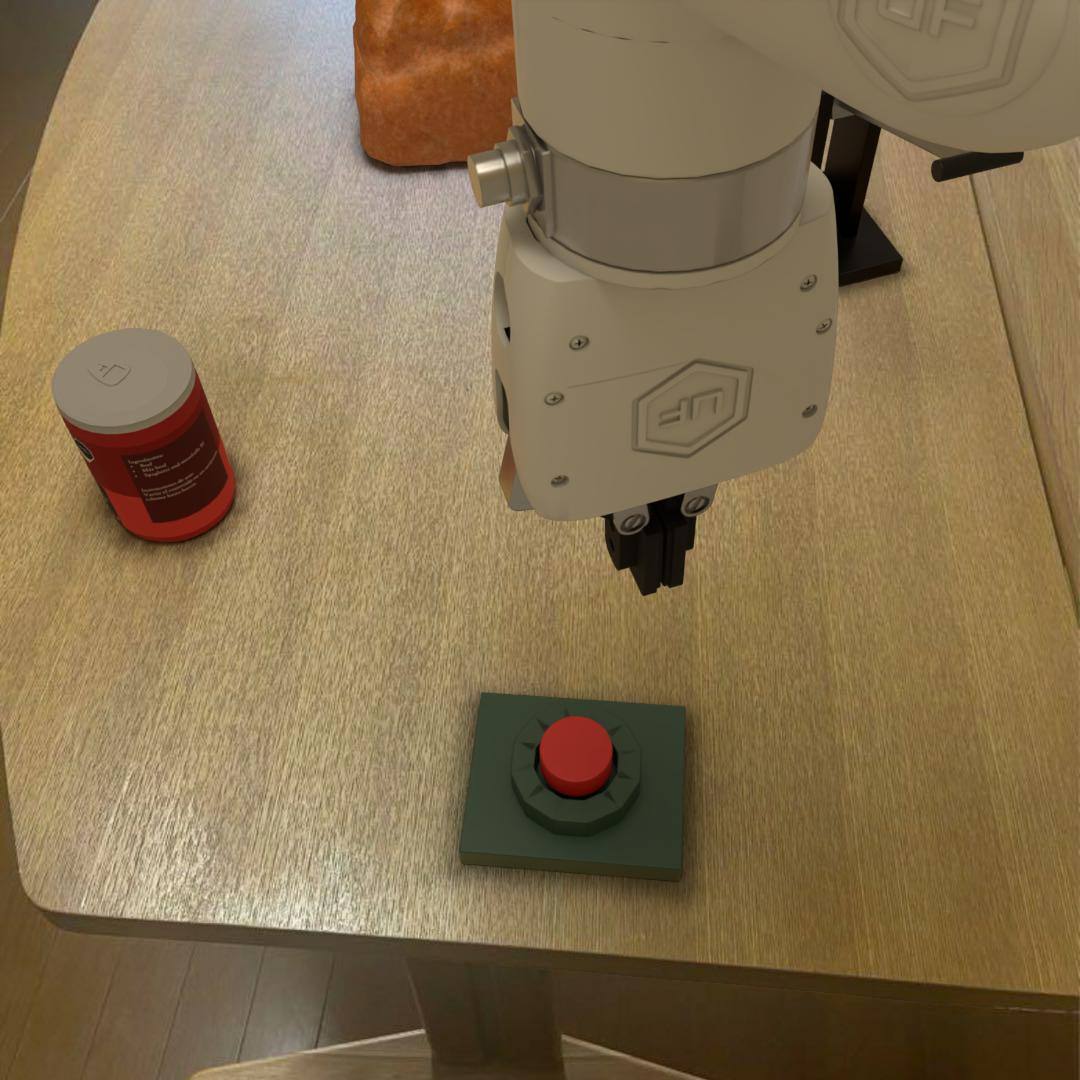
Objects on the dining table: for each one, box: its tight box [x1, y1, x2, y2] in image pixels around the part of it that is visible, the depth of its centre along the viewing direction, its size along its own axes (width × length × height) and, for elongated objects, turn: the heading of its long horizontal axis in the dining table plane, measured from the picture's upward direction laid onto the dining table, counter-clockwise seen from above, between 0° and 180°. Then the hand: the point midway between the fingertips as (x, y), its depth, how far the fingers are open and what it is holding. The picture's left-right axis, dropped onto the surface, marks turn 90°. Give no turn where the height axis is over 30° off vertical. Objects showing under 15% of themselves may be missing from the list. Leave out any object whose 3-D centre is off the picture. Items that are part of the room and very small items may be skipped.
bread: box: [352, 0, 518, 167], centre depth 92 cm, size 14×26×16 cm, turn 96°
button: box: [540, 716, 613, 796], centre depth 59 cm, size 4×4×2 cm
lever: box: [830, 98, 1025, 183], centre depth 72 cm, size 18×5×2 cm, turn 18°
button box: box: [458, 691, 687, 882], centre depth 61 cm, size 11×9×4 cm
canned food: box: [51, 327, 236, 543], centre depth 71 cm, size 8×8×11 cm
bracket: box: [811, 90, 904, 287], centre depth 82 cm, size 11×9×14 cm
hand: (648, 561), depth 46 cm, fingers closed
